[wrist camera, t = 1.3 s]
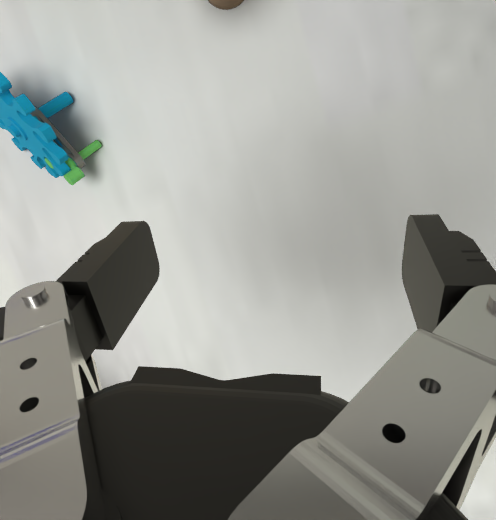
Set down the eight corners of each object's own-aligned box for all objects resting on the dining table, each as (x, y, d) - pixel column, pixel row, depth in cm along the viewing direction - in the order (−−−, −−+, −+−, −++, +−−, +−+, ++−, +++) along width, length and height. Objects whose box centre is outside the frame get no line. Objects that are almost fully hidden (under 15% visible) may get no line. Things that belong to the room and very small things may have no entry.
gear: (-33, 104, 34) (-47, 45, 26) (23, 72, 37) (27, 10, 28) (60, 200, 38) (74, 177, 30) (105, 166, 41) (130, 135, 32)
